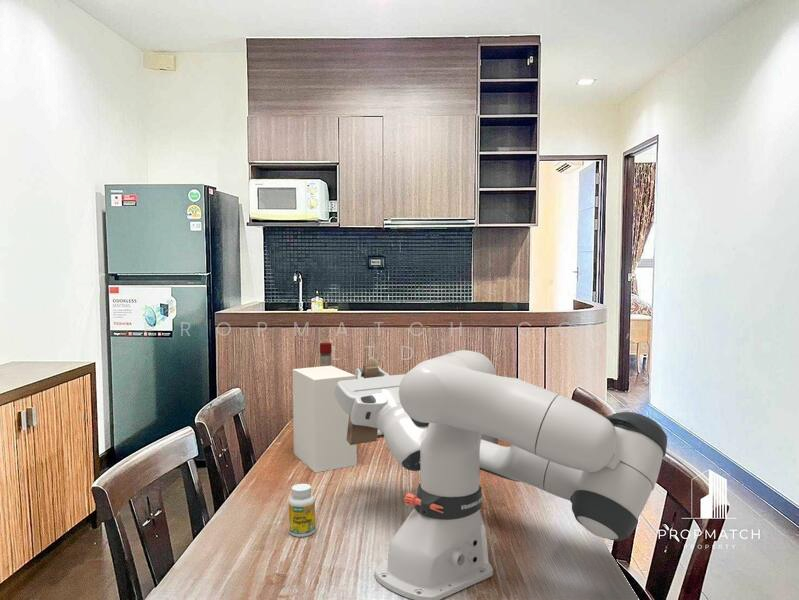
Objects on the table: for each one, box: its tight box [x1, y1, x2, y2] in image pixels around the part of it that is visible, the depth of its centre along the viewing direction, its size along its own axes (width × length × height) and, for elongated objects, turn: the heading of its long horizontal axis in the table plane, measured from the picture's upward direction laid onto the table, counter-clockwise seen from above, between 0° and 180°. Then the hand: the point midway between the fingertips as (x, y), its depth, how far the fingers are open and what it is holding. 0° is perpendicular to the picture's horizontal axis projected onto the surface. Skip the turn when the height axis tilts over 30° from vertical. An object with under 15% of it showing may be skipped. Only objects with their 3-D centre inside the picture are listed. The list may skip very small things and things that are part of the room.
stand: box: [292, 365, 358, 474], centre depth 170 cm, size 18×12×25 cm, turn 28°
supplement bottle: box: [288, 483, 316, 538], centre depth 125 cm, size 5×5×10 cm
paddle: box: [346, 363, 378, 445], centre depth 144 cm, size 20×7×2 cm
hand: (366, 369), depth 143 cm, fingers closed on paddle, 3 cm apart
